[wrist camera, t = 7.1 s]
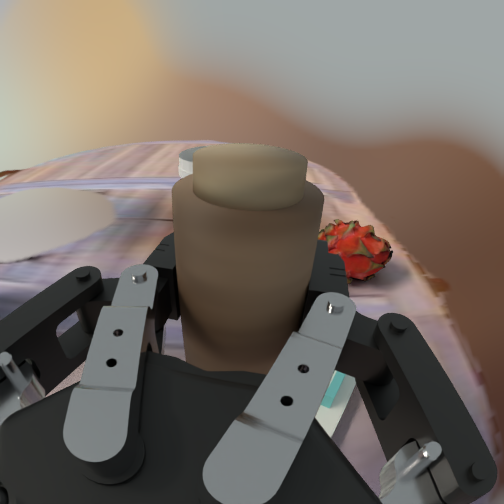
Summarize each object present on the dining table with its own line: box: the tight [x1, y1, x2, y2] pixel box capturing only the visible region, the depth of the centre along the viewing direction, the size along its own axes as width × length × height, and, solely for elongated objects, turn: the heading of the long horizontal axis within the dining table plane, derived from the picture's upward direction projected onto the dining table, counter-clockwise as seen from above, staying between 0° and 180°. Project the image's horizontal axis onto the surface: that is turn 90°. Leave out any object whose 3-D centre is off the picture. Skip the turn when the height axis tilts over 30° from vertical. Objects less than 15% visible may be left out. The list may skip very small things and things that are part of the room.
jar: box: [172, 143, 324, 375], centre depth 12 cm, size 4×4×11 cm
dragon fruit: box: [318, 219, 393, 284], centre depth 42 cm, size 8×8×12 cm
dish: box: [179, 146, 208, 178], centre depth 80 cm, size 22×22×5 cm
